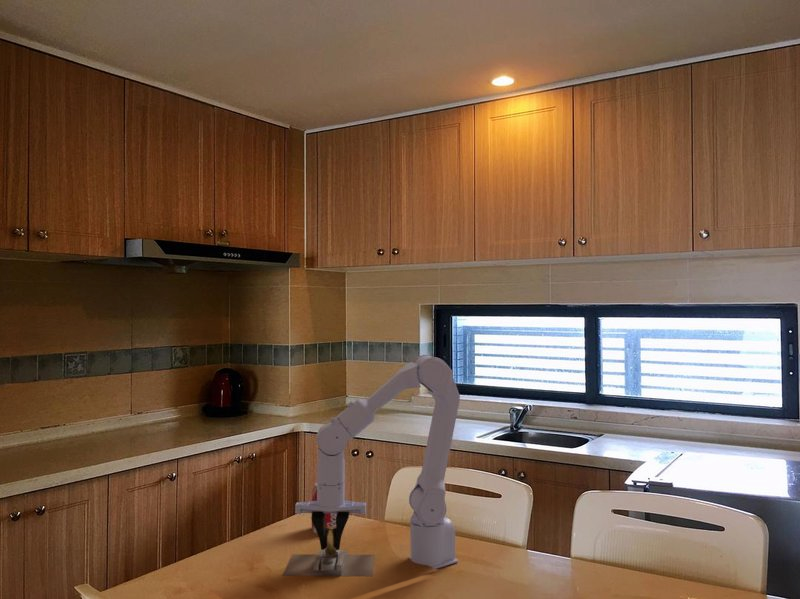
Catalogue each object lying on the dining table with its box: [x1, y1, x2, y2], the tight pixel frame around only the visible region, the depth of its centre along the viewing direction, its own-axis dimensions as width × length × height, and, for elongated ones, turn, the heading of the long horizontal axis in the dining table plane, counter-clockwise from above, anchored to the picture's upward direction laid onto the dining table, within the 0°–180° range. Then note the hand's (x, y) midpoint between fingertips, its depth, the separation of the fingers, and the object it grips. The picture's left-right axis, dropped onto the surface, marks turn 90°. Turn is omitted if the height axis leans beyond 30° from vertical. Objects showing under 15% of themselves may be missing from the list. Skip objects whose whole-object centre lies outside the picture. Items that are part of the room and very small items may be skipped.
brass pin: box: [324, 526, 336, 554], centre depth 142 cm, size 2×2×5 cm
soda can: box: [311, 482, 338, 534], centre depth 165 cm, size 7×7×12 cm
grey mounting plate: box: [281, 549, 376, 577], centre depth 142 cm, size 18×12×4 cm, turn 89°
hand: (330, 548), depth 142 cm, fingers closed on brass pin, 2 cm apart
